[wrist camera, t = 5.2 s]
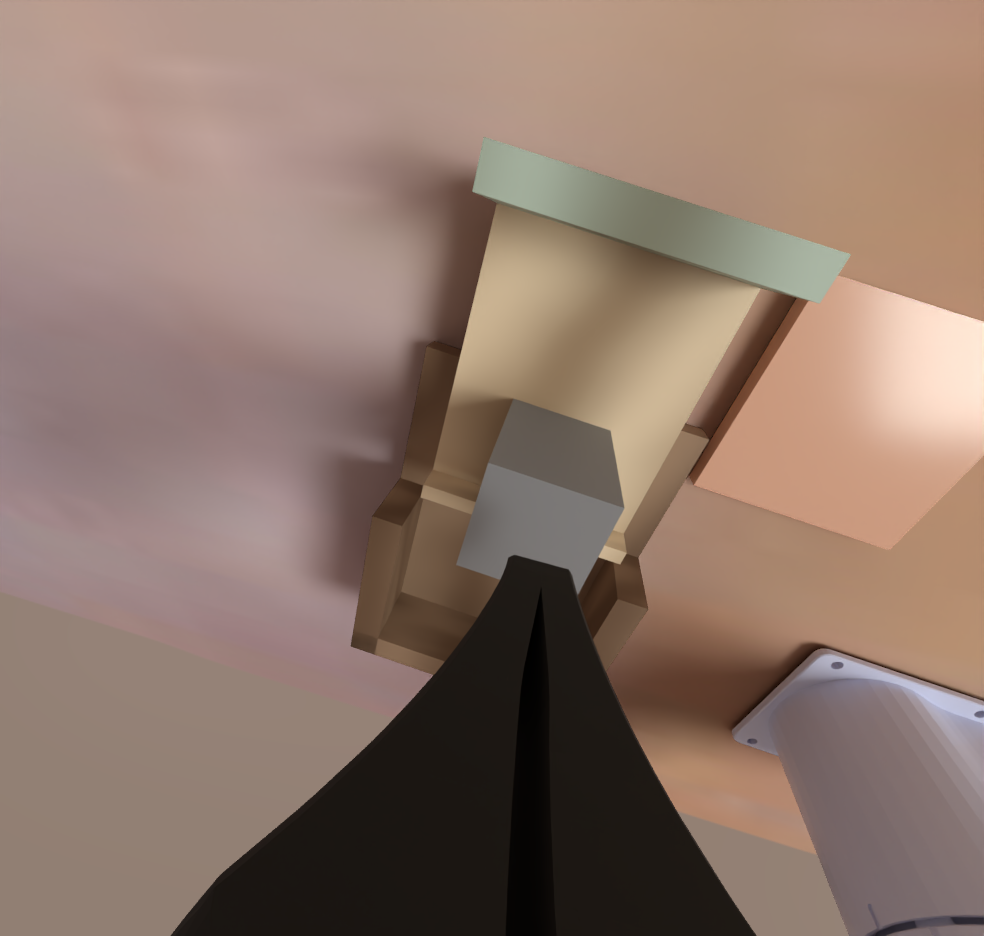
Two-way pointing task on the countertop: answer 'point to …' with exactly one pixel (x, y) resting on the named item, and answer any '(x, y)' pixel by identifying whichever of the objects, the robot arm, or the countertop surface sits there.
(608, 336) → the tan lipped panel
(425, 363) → the brown tray
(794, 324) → the terracotta tile
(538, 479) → the grey block
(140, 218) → the countertop surface
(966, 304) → the countertop surface
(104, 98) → the countertop surface
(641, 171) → the countertop surface
